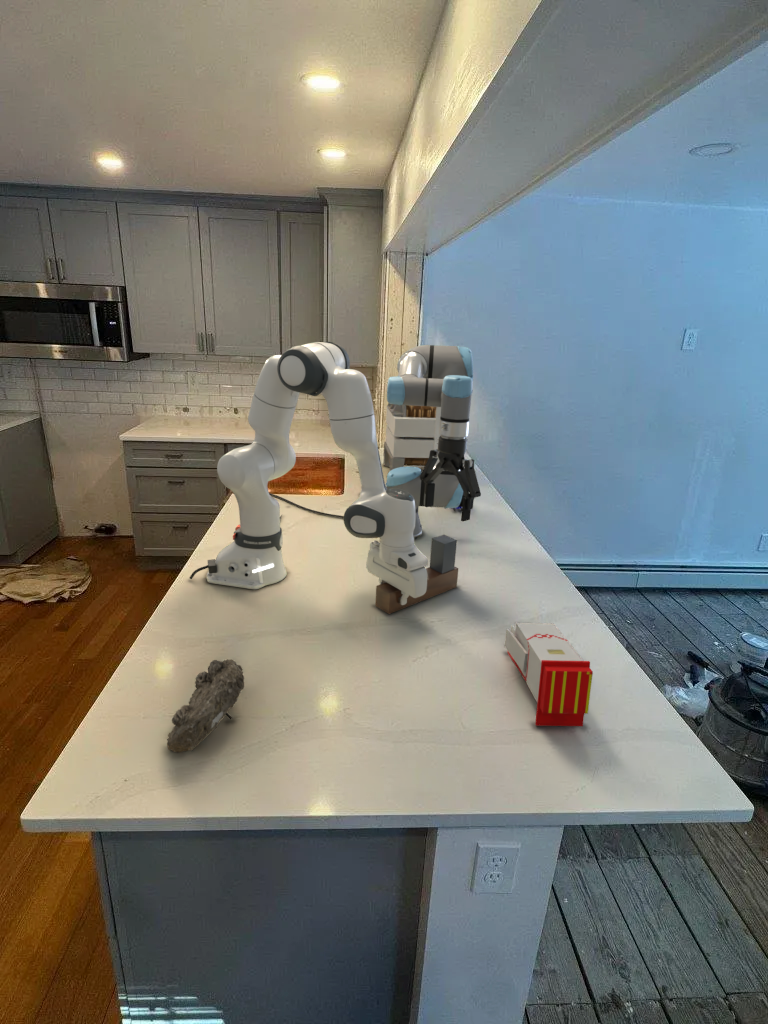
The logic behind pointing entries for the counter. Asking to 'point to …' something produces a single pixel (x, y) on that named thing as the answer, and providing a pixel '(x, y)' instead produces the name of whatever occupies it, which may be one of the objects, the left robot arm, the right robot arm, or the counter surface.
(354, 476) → the counter surface
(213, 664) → the fossil
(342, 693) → the counter surface
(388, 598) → the walnut rail
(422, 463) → the white wooden box
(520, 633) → the toy
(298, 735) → the counter surface
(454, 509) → the figurine character
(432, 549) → the grey block
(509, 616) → the counter surface
